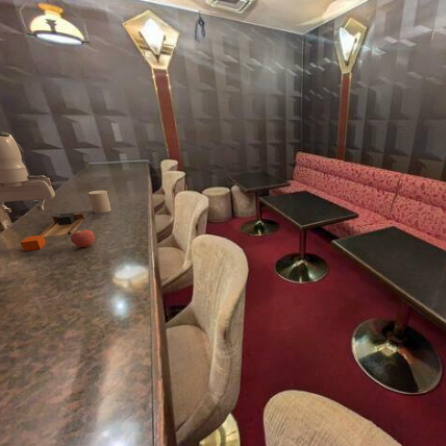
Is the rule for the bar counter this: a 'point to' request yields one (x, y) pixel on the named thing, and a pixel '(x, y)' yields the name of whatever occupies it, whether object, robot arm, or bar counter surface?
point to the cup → (100, 201)
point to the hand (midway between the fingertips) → (25, 211)
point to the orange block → (33, 243)
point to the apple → (83, 238)
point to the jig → (62, 227)
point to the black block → (65, 219)
